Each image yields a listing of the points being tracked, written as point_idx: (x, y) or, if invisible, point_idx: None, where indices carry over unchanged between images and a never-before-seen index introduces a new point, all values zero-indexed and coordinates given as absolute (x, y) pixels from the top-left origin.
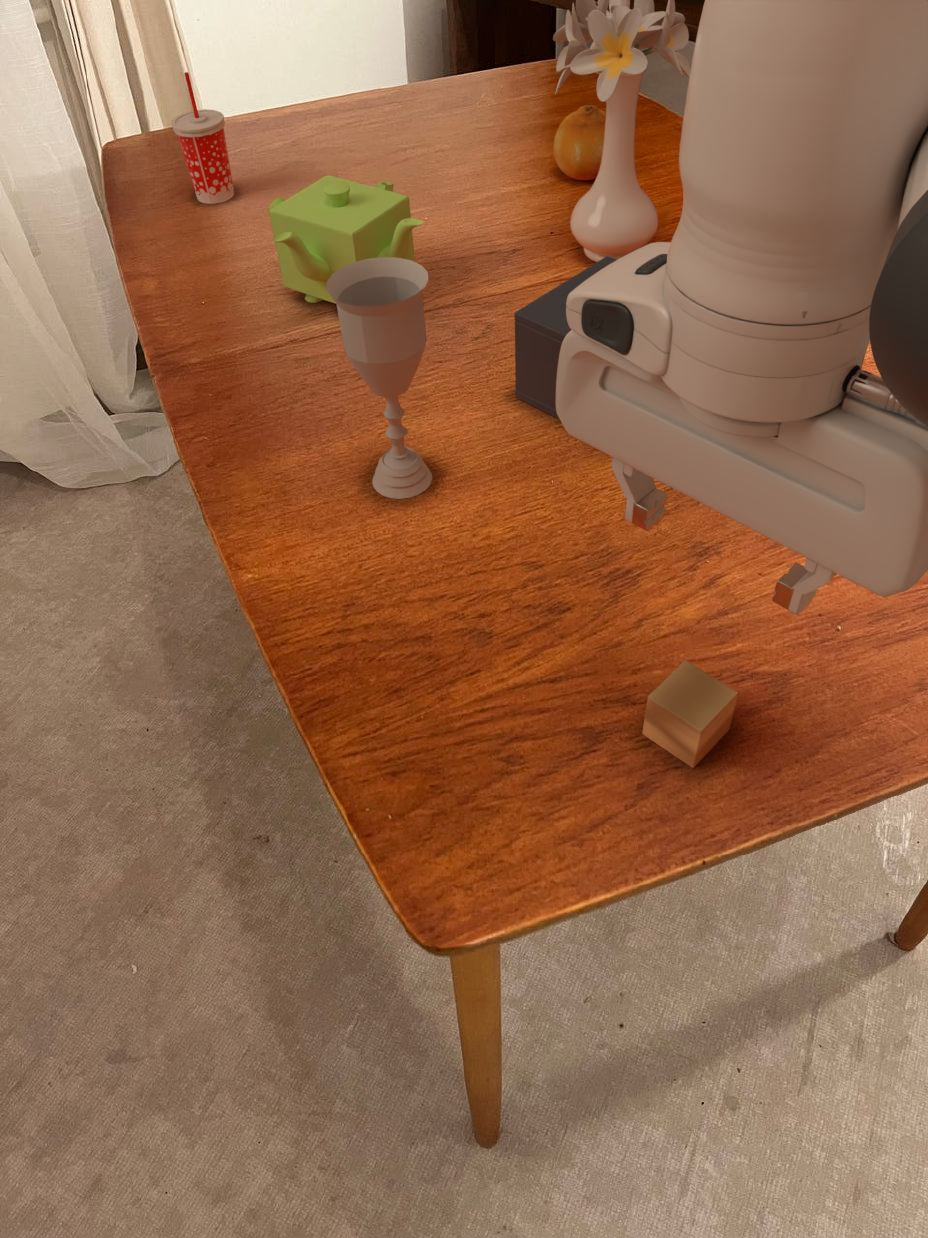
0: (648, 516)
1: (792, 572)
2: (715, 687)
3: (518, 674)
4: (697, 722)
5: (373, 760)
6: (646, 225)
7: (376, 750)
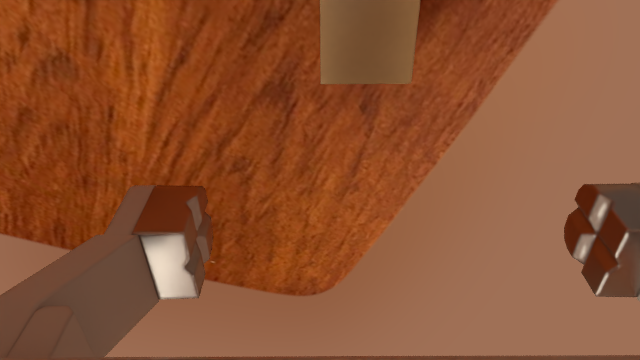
0: (202, 273)
1: (627, 263)
2: (387, 5)
3: (145, 80)
4: (399, 76)
5: None
6: None
7: None
